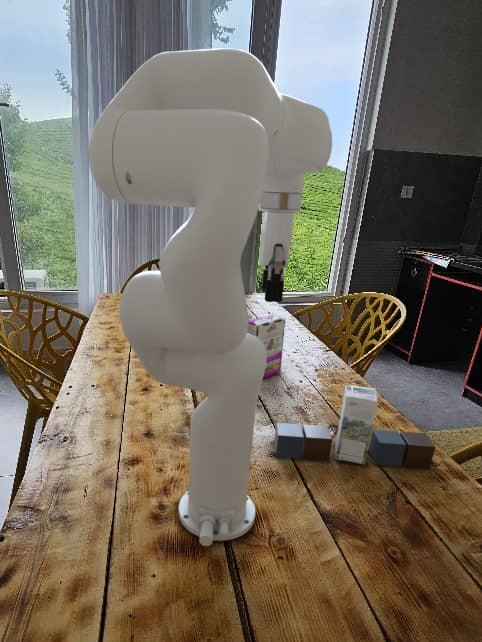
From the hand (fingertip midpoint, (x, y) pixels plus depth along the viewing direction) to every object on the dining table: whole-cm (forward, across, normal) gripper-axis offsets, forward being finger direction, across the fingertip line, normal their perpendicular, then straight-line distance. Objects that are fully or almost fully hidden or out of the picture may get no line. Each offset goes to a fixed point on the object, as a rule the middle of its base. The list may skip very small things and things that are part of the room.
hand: (271, 295), depth 87 cm
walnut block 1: (+30, +8, +11) cm, 33 cm away
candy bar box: (+31, -30, +2) cm, 43 cm away
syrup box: (+31, +8, +18) cm, 36 cm away
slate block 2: (+30, +8, +25) cm, 40 cm away
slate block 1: (+30, +8, +6) cm, 32 cm away
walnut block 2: (+30, +8, +30) cm, 44 cm away
